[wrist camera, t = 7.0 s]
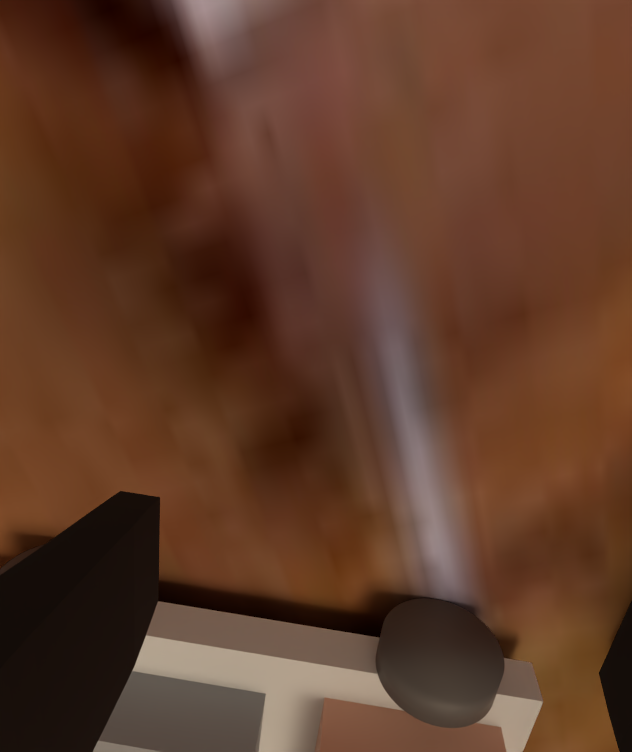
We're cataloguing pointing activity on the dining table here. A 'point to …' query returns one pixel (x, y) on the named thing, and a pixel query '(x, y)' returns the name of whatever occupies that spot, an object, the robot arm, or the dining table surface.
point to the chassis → (321, 685)
